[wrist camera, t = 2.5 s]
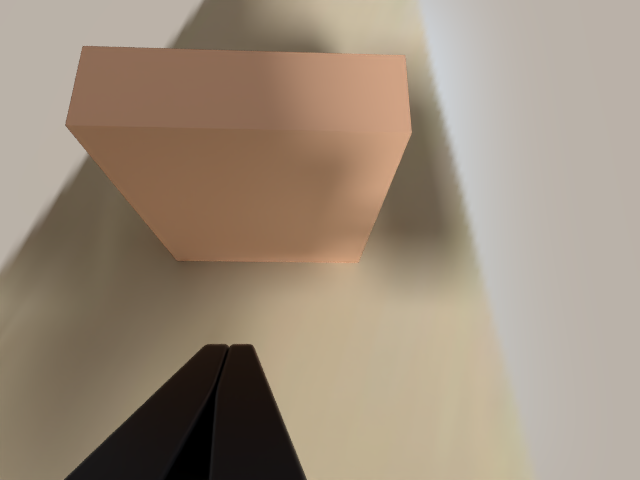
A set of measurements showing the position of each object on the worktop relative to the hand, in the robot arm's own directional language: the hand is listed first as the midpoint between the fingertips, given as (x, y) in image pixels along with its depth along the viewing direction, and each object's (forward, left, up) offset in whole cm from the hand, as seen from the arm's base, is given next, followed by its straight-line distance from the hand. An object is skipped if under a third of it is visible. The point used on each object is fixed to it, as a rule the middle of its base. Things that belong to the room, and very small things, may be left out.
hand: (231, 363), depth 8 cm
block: (+6, 0, -8) cm, 10 cm away
